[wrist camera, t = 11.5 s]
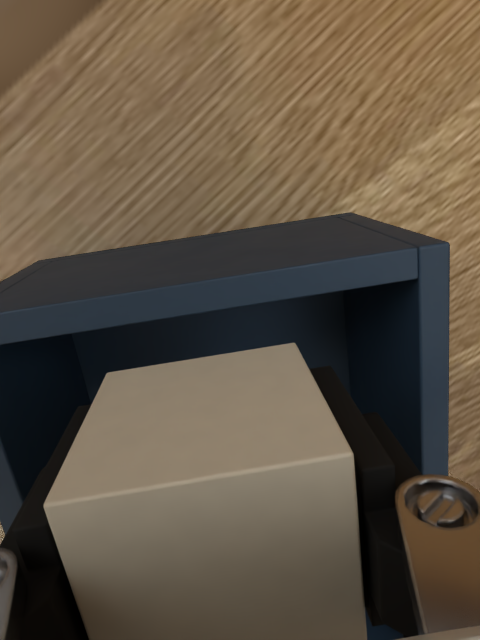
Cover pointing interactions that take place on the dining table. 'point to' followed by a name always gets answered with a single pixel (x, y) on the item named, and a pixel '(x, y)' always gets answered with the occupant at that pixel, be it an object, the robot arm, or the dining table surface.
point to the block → (212, 505)
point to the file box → (231, 328)
